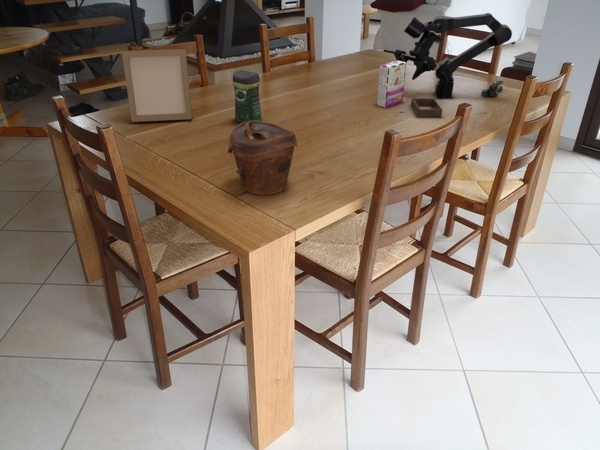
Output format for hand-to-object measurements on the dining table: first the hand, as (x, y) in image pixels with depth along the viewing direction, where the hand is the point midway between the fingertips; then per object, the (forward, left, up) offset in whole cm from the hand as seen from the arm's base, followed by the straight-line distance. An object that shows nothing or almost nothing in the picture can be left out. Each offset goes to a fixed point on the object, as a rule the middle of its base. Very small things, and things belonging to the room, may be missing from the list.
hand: (403, 77), depth 204 cm
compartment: (-7, +13, -10) cm, 18 cm away
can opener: (-43, -11, -10) cm, 45 cm away
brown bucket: (+53, +77, -10) cm, 94 cm away
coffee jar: (+62, +25, -10) cm, 68 cm away
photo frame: (+95, +21, -10) cm, 97 cm away
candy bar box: (+6, +4, -10) cm, 12 cm away
